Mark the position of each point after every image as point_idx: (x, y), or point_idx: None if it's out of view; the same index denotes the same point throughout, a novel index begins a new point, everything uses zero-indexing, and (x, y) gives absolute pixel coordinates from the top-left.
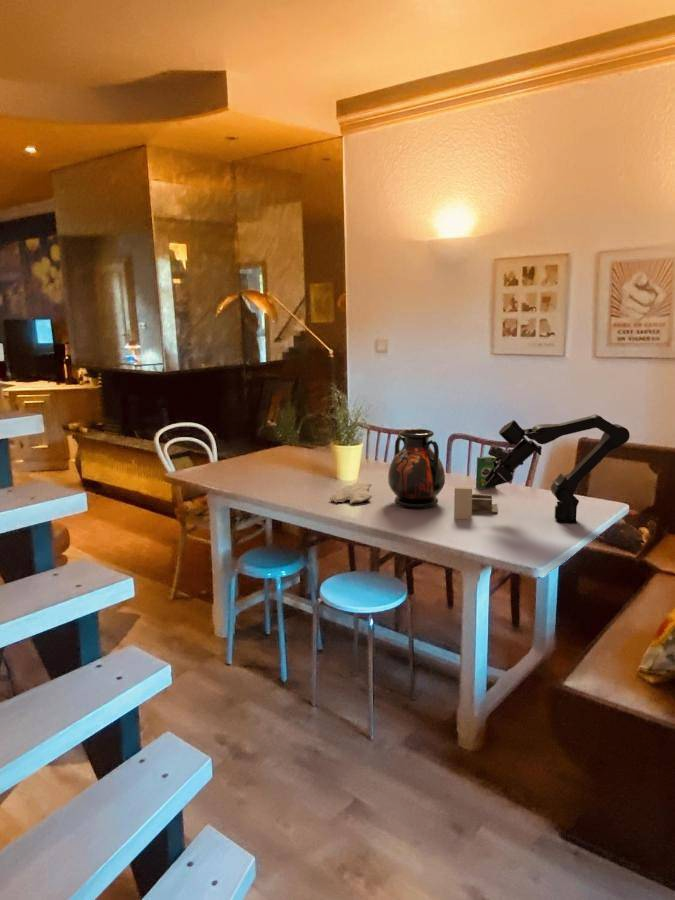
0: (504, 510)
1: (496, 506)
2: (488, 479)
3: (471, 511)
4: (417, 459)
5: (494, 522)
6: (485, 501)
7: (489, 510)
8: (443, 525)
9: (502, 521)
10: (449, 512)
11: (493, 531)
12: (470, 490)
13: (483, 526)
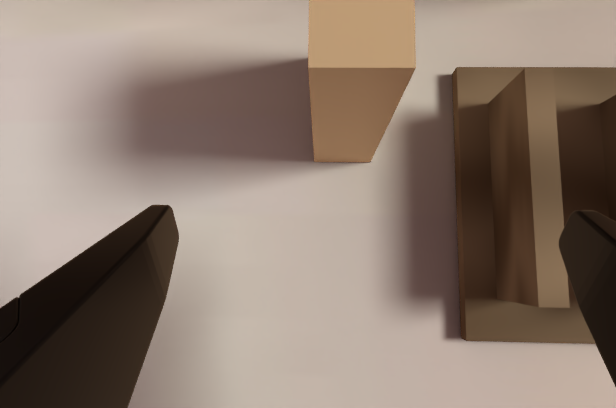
0: (565, 394)
1: None
2: (585, 272)
3: (313, 146)
4: None
5: (265, 310)
6: (526, 249)
7: (493, 282)
8: (172, 4)
9: (294, 366)
10: (443, 24)
11: None
12: (309, 58)
13: None
